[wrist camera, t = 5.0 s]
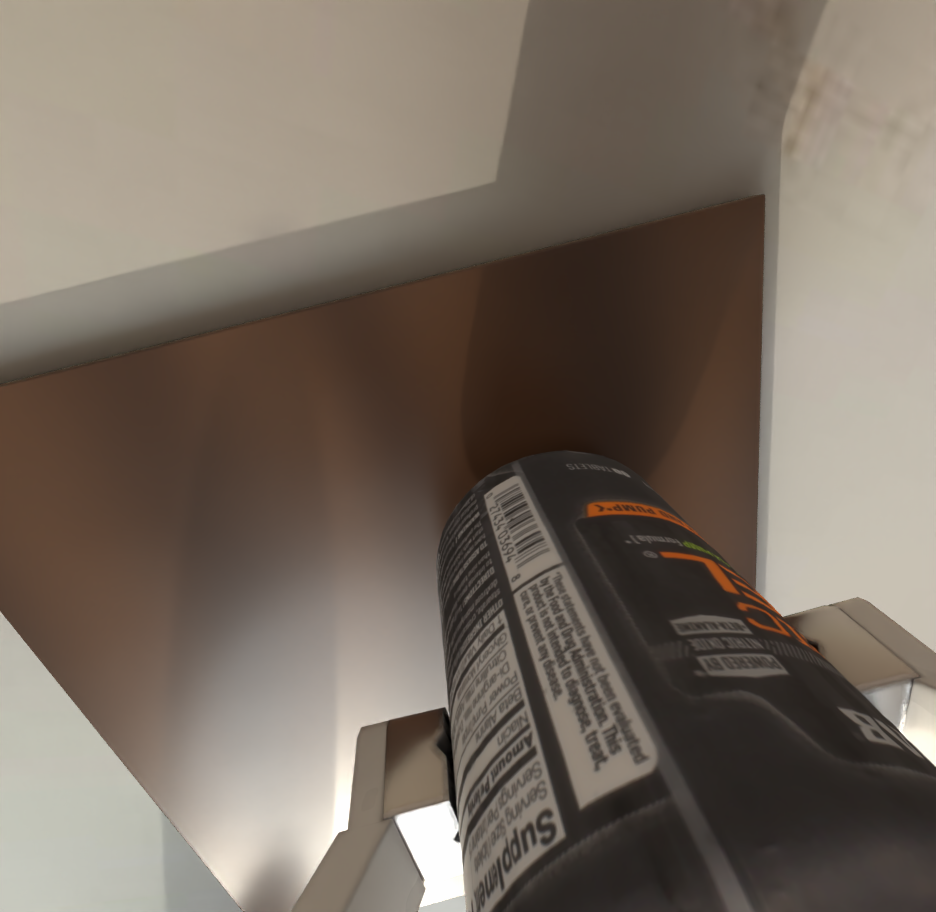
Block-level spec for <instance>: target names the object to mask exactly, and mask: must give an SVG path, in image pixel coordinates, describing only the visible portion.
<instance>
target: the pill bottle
mask: <svg viewBox="0 0 936 912" xmlns="http://www.w3.org/2000/svg"><path fill="white" fill-rule="evenodd" d="M436 571H437V588H438V598H439V608H440V619H441V628H442V641H443V649H444V662H445V675H446V683H447V696H448V706H449V722H450V732H451V743H452V755H453V768H454V781H455V794H456V805H457V816H458V822H459V836H460V844H461V855H462V868H463V883H464V893H465V902H466V912H936V766H935V765H934V764H933V763H932V762H931V761H930V760H929V759H928V758H927V757H926V756H925V755H924V754H923V753H922V752H921V751H920V750H919V749H918V748H917V747H916V746H914V745H913V744H912V743H911V742H910V741H909V740H908V739H907V738H906V737H905V736H904V735H903V734H902V733H901V732H900V731H899V730H898V728H897V727H896V726H895V725H894V724H893V723H892V722H890V721H889V720H888V719H887V718H886V717H885V716H883V715H882V713H881V712H880V711H879V710H878V709H877V708H876V707H875V706H874V705H873V704H872V703H871V702H870V701H869V700H868V699H867V698H866V697H865V696H864V695H863V694H862V693H861V692H860V691H859V690H858V689H857V688H856V687H854V686H853V685H852V684H851V683H850V682H849V681H848V680H847V679H846V678H845V677H844V676H843V675H842V674H841V673H840V672H839V671H838V670H837V669H836V668H835V667H834V666H833V665H832V664H831V663H830V662H829V661H828V660H826V659H825V658H824V657H823V656H822V655H821V654H820V653H819V652H818V651H817V650H816V649H815V648H814V647H813V646H812V645H810V644H809V643H808V642H807V640H806V639H805V638H804V636H803V635H802V634H800V633H799V632H798V631H797V630H796V629H795V628H794V627H793V626H792V625H791V624H790V623H789V622H788V621H787V620H786V619H784V618H783V617H782V616H781V615H780V614H779V613H778V612H777V611H776V610H775V608H774V607H773V606H772V605H771V604H769V603H768V602H767V601H766V600H765V599H764V598H763V597H762V596H761V595H760V594H759V593H758V592H757V591H756V590H755V589H753V587H752V586H751V585H750V584H749V583H748V582H747V581H746V580H745V579H744V578H743V577H742V576H741V575H740V574H738V573H737V572H736V571H735V570H734V569H733V568H732V567H731V566H730V565H729V564H728V562H727V561H726V560H725V559H724V558H723V557H722V556H721V555H720V554H719V553H718V552H717V551H716V550H715V549H713V548H712V547H711V546H710V545H709V544H708V543H707V542H706V541H705V540H704V539H703V538H702V537H701V536H700V535H699V534H698V533H697V532H696V531H695V530H694V529H693V528H692V527H691V526H690V525H689V524H688V523H687V522H686V521H685V520H684V519H683V518H682V517H681V516H680V515H679V514H678V513H677V512H676V511H675V510H674V509H673V508H672V507H671V506H670V505H669V504H668V503H667V502H666V501H665V500H664V499H663V498H662V497H661V496H660V495H659V494H657V493H656V492H655V491H654V490H653V489H652V488H651V486H650V485H649V484H648V483H647V482H646V481H645V480H644V479H643V478H642V477H641V476H639V475H638V474H637V473H635V472H634V471H633V470H631V469H630V468H628V467H626V466H625V465H623V464H621V463H619V462H617V461H615V460H613V459H610V458H607V457H605V456H601V455H597V454H591V453H584V452H573V451H567V450H563V451H552V452H545V453H540V454H535V455H531V456H527V457H523V458H521V459H518V460H516V461H513V462H511V463H508V464H506V465H504V466H502V467H500V468H498V469H497V470H495V471H494V472H492V473H490V474H489V475H487V476H486V477H485V478H483V479H482V480H481V481H479V482H478V483H477V484H476V485H475V486H474V487H473V488H472V489H471V490H470V491H469V492H468V493H467V494H466V495H465V496H464V497H463V499H462V500H461V501H460V502H459V503H458V504H457V506H456V507H455V509H454V510H453V512H452V513H451V515H450V517H449V518H448V520H447V522H446V525H445V527H444V529H443V532H442V535H441V539H440V543H439V547H438V552H437V560H436Z"/></svg>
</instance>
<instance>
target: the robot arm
mask: <svg viewBox="0 0 936 912" xmlns="http://www.w3.org/2000/svg"><path fill="white" fill-rule="evenodd" d="M783 618H784V619H786V620H787V621H788V622H789V623H790V624H791V625H792V626H793V627H794V628H795V629H796V630H797V631H798V632H799V633H800V634H802V635H803V636H804V638H805V639H806V640H807V642H808V643H809V644H810V645H812V646H813V647H814V648H815V649H816V650H817V651H818V652H819V653H820V654H821V655H822V656H823V657H824V658H825V659H826V660H828V661H829V662H830V663H831V664H832V665H833V666H834V667H835V668H836V669H837V670H838V671H839V672H840V673H841V674H842V675H843V676H844V677H845V678H846V679H847V680H848V681H849V682H850V683H851V684H852V685H853V686H854V687H856V688H857V689H858V690H859V691H860V692H861V693H862V694H863V695H864V696H865V697H866V698H867V699H868V700H869V701H870V702H871V703H872V704H873V705H874V706H875V707H876V708H877V709H878V710H879V711H880V712H881V713H882V715H883V716H885V717H886V718H887V719H888V720H889V721H890V722H892V723H893V724H894V725H895V726H896V727H897V728H898V730H899V731H900V732H901V733H902V734H903V735H904V736H905V737H906V738H907V739H908V740H909V741H910V742H911V743H912V744H913V745H914V746H916V747H917V748H918V749H919V750H920V751H921V752H922V753H923V754H924V755H925V756H926V757H927V758H928V759H929V760H930V761H931V762H932V763H933V764H934V765H935V766H936V653H935V652H934V651H932V650H931V649H930V648H929V647H927V646H926V645H925V644H923V643H922V642H921V641H919V640H918V639H917V638H915V637H914V636H913V635H912V634H910V633H909V632H908V631H906V630H905V629H904V628H902V627H901V626H900V625H898V624H897V623H896V622H894V621H893V620H892V619H891V618H889V617H888V616H887V615H885V614H884V613H883V612H881V611H880V610H879V609H877V608H876V607H875V606H874V605H872V604H871V603H870V602H868V601H866V600H864V599H861V598H858V597H857V598H853V599H849V600H845V601H842V602H838V603H834V604H830V605H828V606H826V605H824V606H820V607H817V608H813V609H810V610H806V611H802V612H799V613H795V614H792V615H788V616H784V617H783ZM460 874H463V868H462V855H461V844H460V836H459V822H458V816H457V805H456V794H455V781H454V768H453V755H452V743H451V732H450V722H449V715H448V712H447V710H446V707H443V708H439V709H435V710H430V711H426V712H422V713H417V714H413V715H409V716H404V717H400V718H396V719H392V720H388V721H384V722H380V723H376V724H372V725H368V726H364V727H361V729H360V731H359V734H358V737H357V744H356V753H355V763H354V772H353V782H352V791H351V801H350V810H349V820H348V829H347V830H345V831H342V832H339V833H338V834H337V836H336V837H335V839H334V841H333V842H332V844H331V846H330V847H329V849H328V851H327V852H326V854H325V856H324V857H323V859H322V861H321V862H320V864H319V866H318V867H317V869H316V871H315V872H314V874H313V876H312V877H311V879H310V881H309V882H308V884H307V886H306V887H305V889H304V891H303V892H302V894H301V896H300V897H299V899H298V901H297V902H296V904H295V906H294V907H293V909H292V911H291V912H418V910H419V907H420V904H421V901H422V898H423V896H424V893H425V890H426V888H425V886H424V885H426V884H430V883H433V882H436V881H440V880H443V879H446V878H450V877H453V876H456V875H460Z"/></svg>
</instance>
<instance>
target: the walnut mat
mask: <svg viewBox="0 0 936 912" xmlns="http://www.w3.org/2000/svg"><path fill="white" fill-rule="evenodd" d="M764 230H765V195H764V194H761V195H754V196H750V197H746V198H742V199H738V200H734V201H730V202H726V203H722V204H718V205H714V206H710V207H706V208H702V209H698V210H694V211H690V212H686V213H682V214H678V215H674V216H670V217H666V218H662V219H658V220H654V221H650V222H646V223H642V224H638V225H634V226H630V227H626V228H622V229H618V230H614V231H610V232H606V233H602V234H598V235H594V236H590V237H586V238H582V239H578V240H574V241H570V242H566V243H562V244H558V245H554V246H550V247H546V248H542V249H538V250H534V251H530V252H527V253H523V254H519V255H515V256H511V257H507V258H503V259H499V260H495V261H491V262H487V263H483V264H479V265H475V266H471V267H467V268H463V269H459V270H455V271H451V272H447V273H443V274H439V275H435V276H431V277H427V278H423V279H419V280H415V281H411V282H407V283H403V284H399V285H395V286H391V287H387V288H383V289H379V290H375V291H371V292H367V293H363V294H359V295H355V296H351V297H347V298H343V299H339V300H335V301H331V302H327V303H323V304H319V305H315V306H311V307H307V308H303V309H299V310H295V311H291V312H287V313H283V314H279V315H275V316H271V317H267V318H263V319H259V320H255V321H251V322H247V323H243V324H239V325H235V326H231V327H227V328H223V329H219V330H215V331H211V332H207V333H203V334H199V335H195V336H191V337H187V338H183V339H179V340H175V341H171V342H167V343H163V344H159V345H155V346H151V347H147V348H143V349H139V350H135V351H131V352H127V353H123V354H119V355H115V356H111V357H107V358H103V359H99V360H95V361H91V362H87V363H83V364H79V365H75V366H71V367H67V368H63V369H59V370H55V371H51V372H47V373H43V374H39V375H35V376H31V377H27V378H23V379H19V380H15V381H11V382H7V383H3V384H0V611H1V613H2V614H3V615H4V616H5V618H6V619H7V620H8V621H9V623H10V624H11V625H12V626H13V627H14V629H15V630H16V631H17V632H18V634H19V635H20V636H21V637H22V639H23V640H24V641H25V642H26V644H27V645H28V646H29V647H30V649H31V650H32V651H33V652H34V653H35V655H36V656H37V657H38V658H39V660H40V661H41V662H42V663H43V665H44V666H45V667H46V668H47V670H48V671H49V672H50V673H51V675H52V676H53V677H54V678H55V679H56V681H57V682H58V683H59V684H60V686H61V687H62V688H63V689H64V691H65V692H66V693H67V694H68V696H69V697H70V698H71V699H72V701H73V702H74V703H75V704H76V705H77V707H78V708H79V709H80V710H81V712H82V713H83V714H84V715H85V717H86V718H87V719H88V720H89V722H90V723H91V724H92V725H93V727H94V728H95V729H96V730H97V731H98V733H99V734H100V735H101V736H102V738H103V739H104V740H105V741H106V743H107V744H108V745H109V746H110V748H111V749H112V750H113V751H114V753H115V754H116V755H117V756H118V757H119V759H120V760H121V761H122V762H123V764H124V765H125V766H126V767H127V769H128V770H129V771H130V772H131V774H132V775H133V776H134V777H135V779H136V780H137V781H138V782H139V783H140V785H141V786H142V787H143V788H144V790H145V791H146V792H147V793H148V795H149V796H150V797H151V798H152V800H153V801H154V802H155V803H156V805H157V806H158V807H159V808H160V809H161V811H162V812H163V813H164V814H165V816H166V817H167V818H168V819H169V821H170V822H171V823H172V824H173V826H174V827H175V828H176V829H177V831H178V832H179V833H180V834H181V835H182V837H183V838H184V839H185V840H186V842H187V843H188V844H189V845H190V847H191V848H192V849H193V850H194V852H195V853H196V854H197V855H198V857H199V858H200V859H201V860H202V861H203V863H204V864H205V865H206V866H207V868H208V869H209V870H210V871H211V873H212V874H213V875H214V876H215V878H216V879H217V880H218V881H219V883H220V884H221V885H222V886H223V887H224V889H225V890H226V891H227V892H228V894H229V895H230V896H231V897H232V899H233V900H234V901H235V902H236V904H237V905H238V906H239V907H240V909H241V910H242V911H243V912H291V911H292V909H293V907H294V906H295V904H296V902H297V901H298V899H299V897H300V896H301V894H302V892H303V891H304V889H305V887H306V886H307V884H308V882H309V881H310V879H311V877H312V876H313V874H314V872H315V871H316V869H317V867H318V866H319V864H320V862H321V861H322V859H323V857H324V856H325V854H326V852H327V851H328V849H329V847H330V846H331V844H332V842H333V841H334V839H335V837H336V836H337V834H338V833H339V832H342V831H345V830H347V829H348V820H349V810H350V801H351V791H352V782H353V772H354V763H355V753H356V744H357V737H358V734H359V731H360V729H361V727H364V726H368V725H372V724H376V723H380V722H384V721H388V720H392V719H396V718H400V717H404V716H409V715H413V714H417V713H422V712H426V711H430V710H435V709H439V708H443V707H446V710H447V712H448V715H449V706H448V696H447V683H446V675H445V662H444V649H443V641H442V628H441V619H440V608H439V598H438V588H437V571H436V560H437V552H438V547H439V543H440V539H441V535H442V532H443V529H444V527H445V525H446V522H447V520H448V518H449V517H450V515H451V513H452V512H453V510H454V509H455V507H456V506H457V504H458V503H459V502H460V501H461V500H462V499H463V497H464V496H465V495H466V494H467V493H468V492H469V491H470V490H471V489H472V488H473V487H474V486H475V485H476V484H477V483H478V482H479V481H481V480H482V479H483V478H485V477H486V476H487V475H489V474H490V473H492V472H494V471H495V470H497V469H498V468H500V467H502V466H504V465H506V464H508V463H511V462H513V461H516V460H518V459H521V458H523V457H527V456H531V455H535V454H540V453H545V452H552V451H563V450H567V451H573V452H584V453H591V454H597V455H601V456H605V457H607V458H610V459H613V460H615V461H617V462H619V463H621V464H623V465H625V466H626V467H628V468H630V469H631V470H633V471H634V472H635V473H637V474H638V475H639V476H641V477H642V478H643V479H644V480H645V481H646V482H647V483H648V484H649V485H650V486H651V488H652V489H653V490H654V491H655V492H656V493H657V494H659V495H660V496H661V497H662V498H663V499H664V500H665V501H666V502H667V503H668V504H669V505H670V506H671V507H672V508H673V509H674V510H675V511H676V512H677V513H678V514H679V515H680V516H681V517H682V518H683V519H684V520H685V521H686V522H687V523H688V524H689V525H690V526H691V527H692V528H693V529H694V530H695V531H696V532H697V533H698V534H699V535H700V536H701V537H702V538H703V539H704V540H705V541H706V542H707V543H708V544H709V545H710V546H711V547H712V548H713V549H715V550H716V551H717V552H718V553H719V554H720V555H721V556H722V557H723V558H724V559H725V560H726V561H727V562H728V564H729V565H730V566H731V567H732V568H733V569H734V570H735V571H736V572H737V573H738V574H740V575H741V576H742V577H743V578H744V579H745V580H746V581H747V582H748V583H749V584H750V585H751V586H752V587H753V589H755V586H756V547H757V507H758V468H759V428H760V388H761V349H762V309H763V270H764ZM424 886H425V888H426V890H425V893H424V896H423V898H422V901H421V904H420V907H422V906H426V905H429V904H433V903H436V902H440V901H444V900H447V899H451V898H454V897H458V896H462V895H465V893H464V883H463V874H460V875H456V876H453V877H450V878H446V879H443V880H440V881H436V882H433V883H430V884H426V885H424Z"/></svg>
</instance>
